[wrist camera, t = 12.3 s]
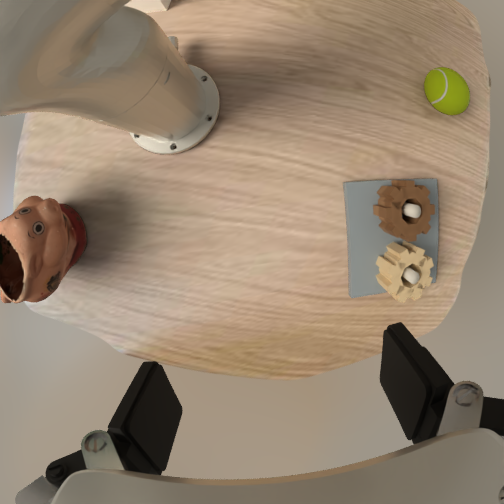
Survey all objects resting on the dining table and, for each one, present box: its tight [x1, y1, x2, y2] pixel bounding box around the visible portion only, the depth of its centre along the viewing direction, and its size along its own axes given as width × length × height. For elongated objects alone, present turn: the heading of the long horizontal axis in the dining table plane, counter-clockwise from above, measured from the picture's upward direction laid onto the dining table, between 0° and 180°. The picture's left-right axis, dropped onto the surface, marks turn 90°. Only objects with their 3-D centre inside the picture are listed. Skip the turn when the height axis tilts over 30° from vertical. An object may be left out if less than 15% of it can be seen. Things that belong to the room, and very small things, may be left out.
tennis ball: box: [424, 67, 470, 115], centre depth 24 cm, size 7×7×7 cm
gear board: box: [343, 179, 438, 303], centre depth 30 cm, size 15×14×6 cm
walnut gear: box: [373, 180, 435, 242], centre depth 29 cm, size 7×7×4 cm
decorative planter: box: [0, 196, 87, 303], centre depth 29 cm, size 20×12×14 cm, turn 139°
